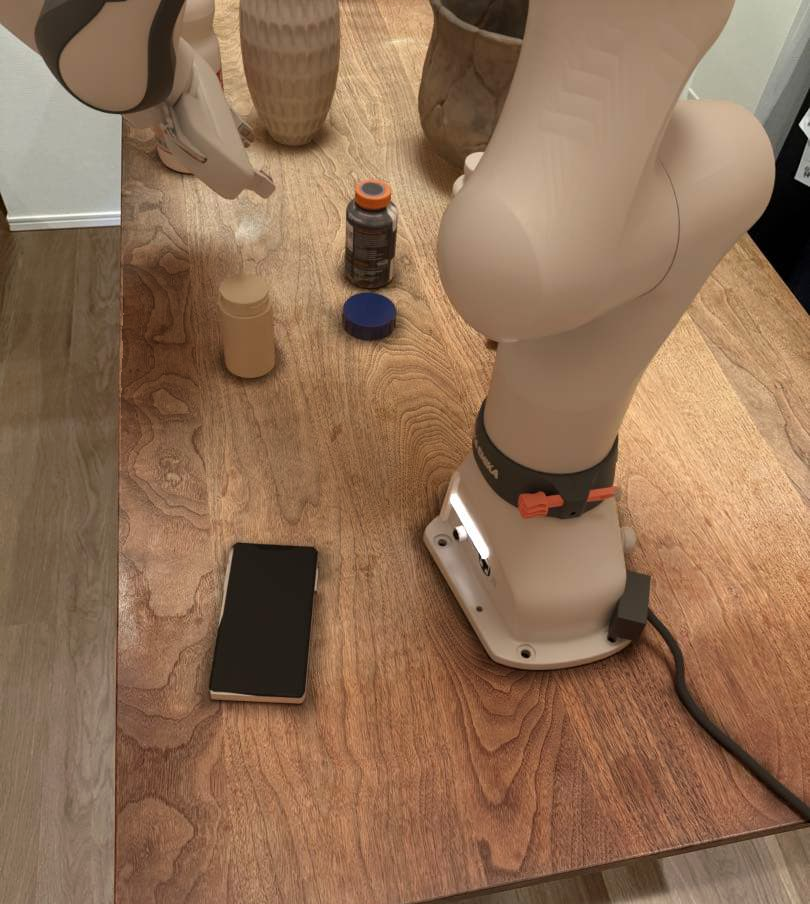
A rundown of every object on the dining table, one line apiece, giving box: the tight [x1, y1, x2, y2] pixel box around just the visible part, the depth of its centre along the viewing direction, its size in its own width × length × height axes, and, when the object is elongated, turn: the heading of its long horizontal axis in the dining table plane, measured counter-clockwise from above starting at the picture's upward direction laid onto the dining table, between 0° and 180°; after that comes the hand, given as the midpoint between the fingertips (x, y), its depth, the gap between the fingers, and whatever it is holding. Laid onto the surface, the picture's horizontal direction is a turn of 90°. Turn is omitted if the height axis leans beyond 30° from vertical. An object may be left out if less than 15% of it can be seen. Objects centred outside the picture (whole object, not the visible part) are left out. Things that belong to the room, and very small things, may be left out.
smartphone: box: [208, 542, 319, 704], centre depth 75 cm, size 8×1×15 cm
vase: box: [238, 0, 341, 147], centre depth 111 cm, size 13×13×28 cm
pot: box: [417, 0, 529, 173], centre depth 114 cm, size 25×24×21 cm
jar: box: [217, 272, 276, 379], centre depth 91 cm, size 5×5×10 cm
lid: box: [341, 291, 397, 341], centre depth 99 cm, size 6×6×2 cm
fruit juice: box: [152, 0, 225, 174], centre depth 106 cm, size 9×9×28 cm
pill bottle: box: [344, 178, 399, 289], centre depth 101 cm, size 6×6×11 cm
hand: (260, 164), depth 90 cm, fingers open, 8 cm apart
